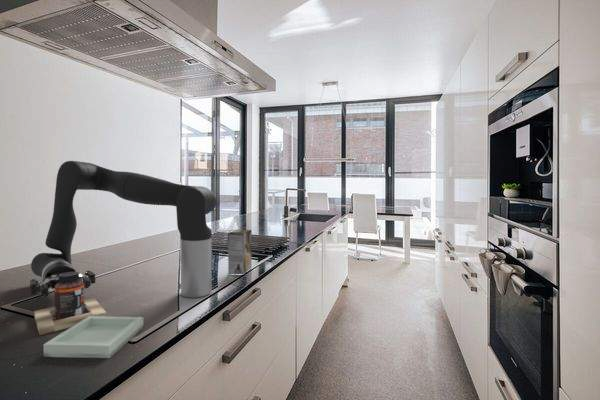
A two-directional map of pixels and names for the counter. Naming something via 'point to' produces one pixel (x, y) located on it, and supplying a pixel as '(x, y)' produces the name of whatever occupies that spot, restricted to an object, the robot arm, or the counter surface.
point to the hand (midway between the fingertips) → (67, 288)
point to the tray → (94, 337)
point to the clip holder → (49, 325)
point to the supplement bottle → (69, 296)
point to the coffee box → (239, 251)
